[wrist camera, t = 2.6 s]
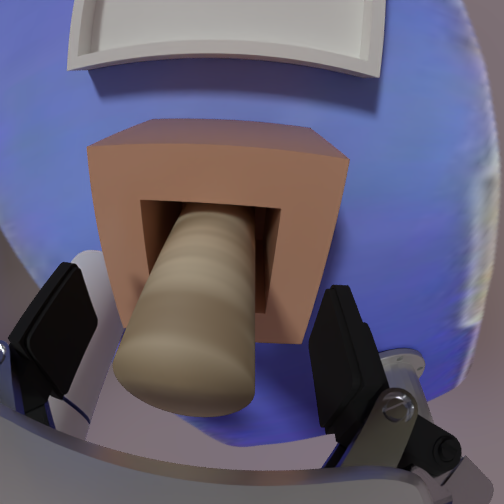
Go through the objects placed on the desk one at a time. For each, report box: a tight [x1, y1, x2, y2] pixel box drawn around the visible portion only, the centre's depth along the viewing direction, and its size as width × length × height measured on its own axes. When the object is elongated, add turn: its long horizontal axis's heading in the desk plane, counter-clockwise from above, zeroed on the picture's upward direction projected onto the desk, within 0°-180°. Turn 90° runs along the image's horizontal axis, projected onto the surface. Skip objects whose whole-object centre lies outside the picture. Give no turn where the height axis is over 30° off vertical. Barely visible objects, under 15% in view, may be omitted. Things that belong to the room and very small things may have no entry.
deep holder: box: [87, 119, 350, 344], centre depth 15 cm, size 10×10×8 cm
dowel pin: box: [113, 202, 255, 417], centre depth 12 cm, size 4×4×13 cm
